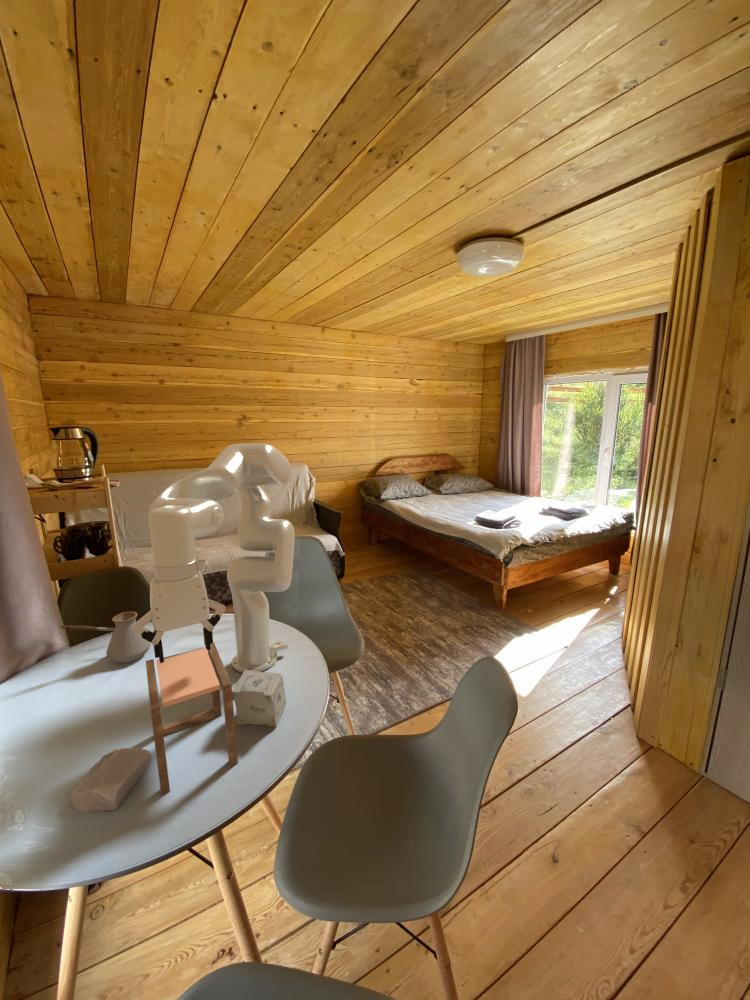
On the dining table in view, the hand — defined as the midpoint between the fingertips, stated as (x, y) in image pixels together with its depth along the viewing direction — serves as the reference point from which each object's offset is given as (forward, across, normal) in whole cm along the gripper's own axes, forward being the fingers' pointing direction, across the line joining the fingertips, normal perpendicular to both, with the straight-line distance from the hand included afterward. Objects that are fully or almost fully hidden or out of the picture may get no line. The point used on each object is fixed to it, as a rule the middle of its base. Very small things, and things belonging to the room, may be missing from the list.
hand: (185, 652), depth 83 cm
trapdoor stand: (+23, 0, -2) cm, 23 cm away
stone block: (+24, +15, 0) cm, 28 cm away
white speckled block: (+23, -15, -3) cm, 28 cm away
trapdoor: (+8, 0, -3) cm, 8 cm away
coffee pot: (+23, +16, -50) cm, 57 cm away
